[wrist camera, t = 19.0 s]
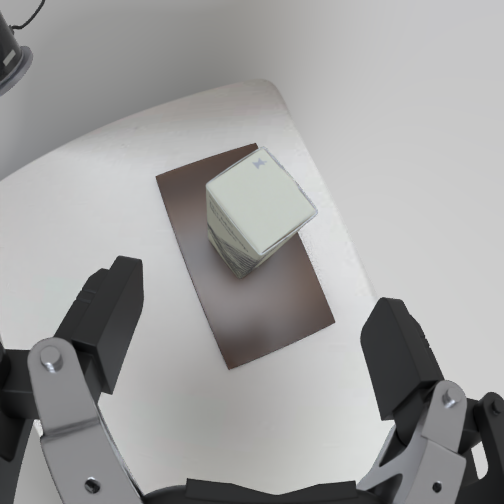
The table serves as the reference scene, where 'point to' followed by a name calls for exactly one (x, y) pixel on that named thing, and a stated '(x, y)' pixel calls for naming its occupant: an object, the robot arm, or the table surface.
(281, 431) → the table surface
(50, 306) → the table surface
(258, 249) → the box
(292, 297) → the walnut board
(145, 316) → the table surface
